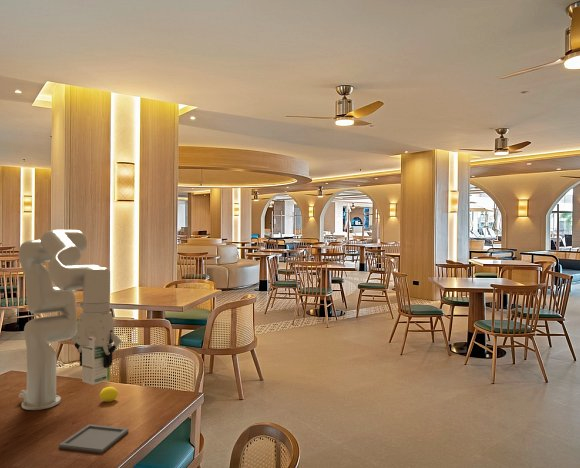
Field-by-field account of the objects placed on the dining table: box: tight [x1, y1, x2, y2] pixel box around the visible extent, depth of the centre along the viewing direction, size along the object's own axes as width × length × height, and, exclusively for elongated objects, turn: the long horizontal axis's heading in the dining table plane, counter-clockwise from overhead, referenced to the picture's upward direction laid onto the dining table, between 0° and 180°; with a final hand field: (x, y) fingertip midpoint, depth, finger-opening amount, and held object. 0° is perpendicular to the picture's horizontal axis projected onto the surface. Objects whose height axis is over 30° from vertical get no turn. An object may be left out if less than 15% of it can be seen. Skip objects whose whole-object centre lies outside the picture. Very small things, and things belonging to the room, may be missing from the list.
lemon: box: [98, 386, 119, 403], centre depth 169 cm, size 7×5×5 cm
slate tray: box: [58, 423, 129, 454], centre depth 138 cm, size 14×14×1 cm
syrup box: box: [81, 336, 111, 386], centre depth 138 cm, size 6×6×14 cm
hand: (95, 365), depth 138 cm, fingers closed on syrup box, 7 cm apart
